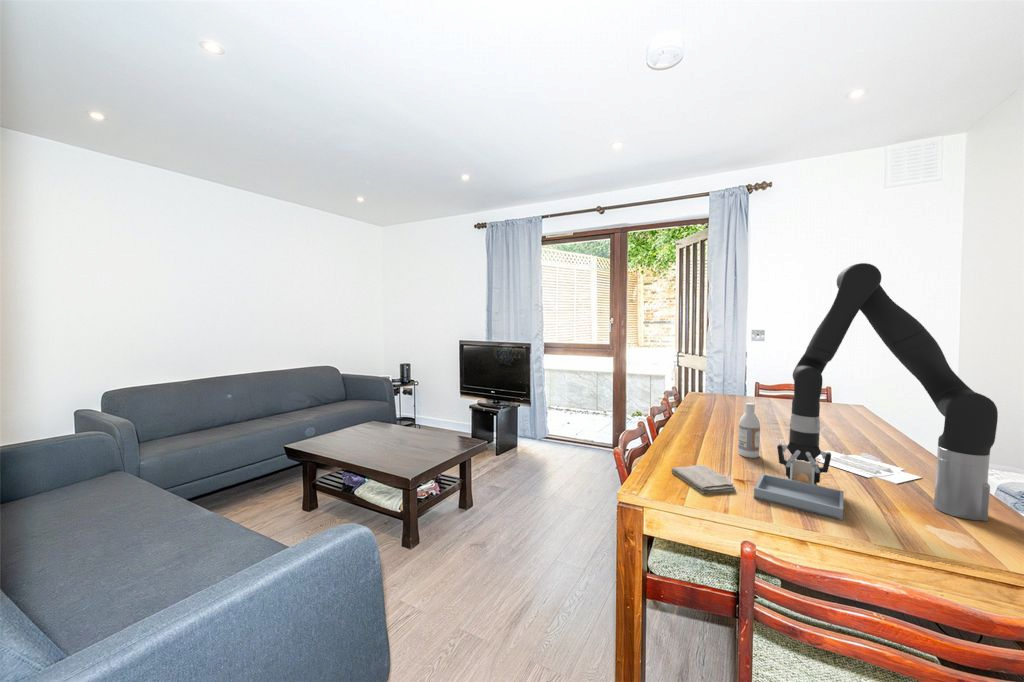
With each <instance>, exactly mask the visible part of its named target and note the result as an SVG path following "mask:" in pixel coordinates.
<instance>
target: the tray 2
mask: <svg viewBox="0 0 1024 682" xmlns="http://www.w3.org/2000/svg"><path fill="white" fill-rule="evenodd" d="M823 452H826V453H827V452H830V453H831V459H830V463H829V466H831V467H835V468H838V469H841V470H844V471H847V472H850V473H852V474H856V475H859V476H863V477H865V478H867V479H873V478H876V479H879V480H883V481H886V482H889V483H891V484H895V485H898V484H901V483H905V482H909V481H913V480H917V479H923V477H922V476H919V475H915V474H912V473H909V472H905V471H906V469H905V468H902V467H898V466H895V465H891V464H888V463H885V462H883V460H882V459H879V458H878V457H877V456H874V455H871V454H870V453H866V452H863V451H862V452H861V453H860V454H859V455H858V454H849V455H848V454H843V453H839V452H837V451H833V450H825V451H823ZM815 459H816V461H817V463H818V462H819V463H821V464H824V461H825V459H823V458H822V455H819V456H818V457H816V458H815Z"/></svg>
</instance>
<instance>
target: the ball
mask: <svg viewBox="0 0 1024 682" xmlns="http://www.w3.org/2000/svg"><path fill="white" fill-rule="evenodd" d="M796 480H797V481H799V482H803V483H808V481H809V480H808V477H807V476H806V475H804V474H798V475H797V476H796Z"/></svg>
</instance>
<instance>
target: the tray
mask: <svg viewBox="0 0 1024 682" xmlns="http://www.w3.org/2000/svg"><path fill="white" fill-rule="evenodd" d="M844 496H845V495H844V490H840V489H839V490H838V489H835V488H830V487H826V486H821V485H818V484H817V485H816V484H814V485H813V484H808V483H803V482H799V481H794V480H790V479H788V478H784V477H780V476H776V475H771V474H767V473H766V474H765V473H761V474H760V477H759V478H758V480H757V482H756V484H755V486H754V488H753V499H757V500H760V501H765V502H767V503H771V504H775V505H778V506H779V505H780V506H784V507H787V508H791V509H795V510H800V511H803V512H807V513H811V514H815V515H818V516H823V517H827V518H831V519H834V520H839V521H841V522H842V521H844Z"/></svg>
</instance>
